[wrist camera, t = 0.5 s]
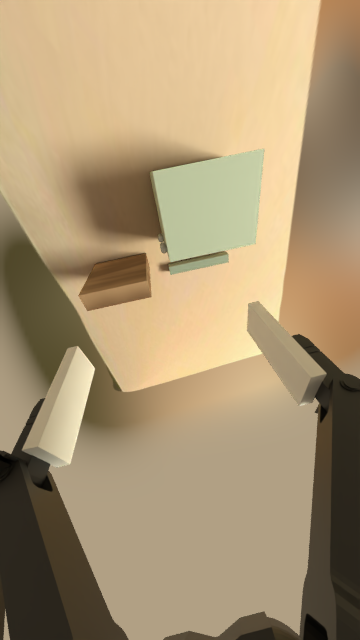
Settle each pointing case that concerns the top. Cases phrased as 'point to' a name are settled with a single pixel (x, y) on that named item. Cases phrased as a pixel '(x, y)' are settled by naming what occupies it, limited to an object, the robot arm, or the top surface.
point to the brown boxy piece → (117, 282)
